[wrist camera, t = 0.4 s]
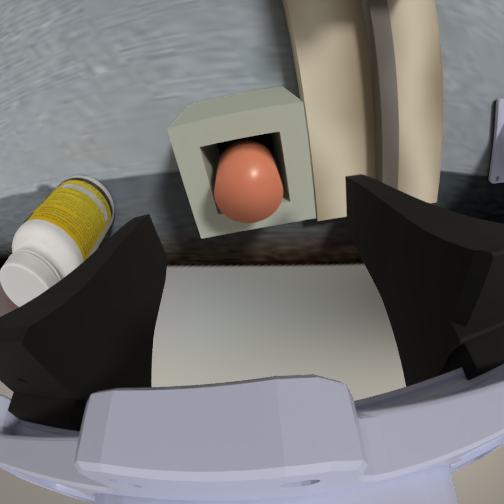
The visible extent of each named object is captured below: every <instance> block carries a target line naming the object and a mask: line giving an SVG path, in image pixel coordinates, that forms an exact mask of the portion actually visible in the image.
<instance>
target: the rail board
mask: <svg viewBox="0 0 504 504" xmlns="http://www.w3.org/2000/svg"><path fill="white" fill-rule="evenodd" d="M282 2H283V6H284V11H285V16H286V21H287V26H288V31H289V37H290V42H291V47H292V53H293V59H294V65H295V70H296V77H297V83H298V89H299V96H300V100H301V101H302V102H303V106H304V113H305V120H306V128H307V136H308V144H309V152H310V161H311V170H312V180H313V190H314V201H315V212H316V218H317V221H323V220H329V219H335V218H341V217H347V206H346V181H345V176H352V175H359V174H362V175H366V176H368V177H371V178H373V179H376V180H378V181H380V182H382V183H384V184H386V185H389V186H391V187H393V188H395V189H397V190H399V191H402V192H404V193H406V194H408V195H410V196H413V197H415V198H418V199H420V200H422V201H425V202H427V203H435V202H437V195H438V187H439V178H440V167H441V155H442V137H443V73H442V57H441V45H440V35H439V27H438V19H437V12H436V6H435V0H282Z"/></svg>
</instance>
